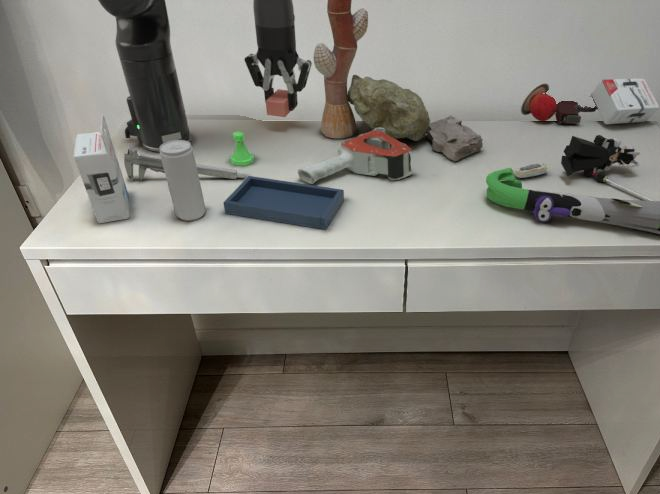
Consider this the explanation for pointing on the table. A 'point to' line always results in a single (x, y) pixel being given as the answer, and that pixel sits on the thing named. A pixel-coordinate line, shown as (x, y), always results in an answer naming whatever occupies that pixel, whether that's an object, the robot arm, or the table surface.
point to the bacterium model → (530, 170)
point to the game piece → (241, 151)
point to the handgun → (570, 112)
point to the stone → (453, 138)
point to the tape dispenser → (365, 158)
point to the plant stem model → (339, 66)
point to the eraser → (278, 104)
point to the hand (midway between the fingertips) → (281, 107)
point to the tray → (285, 202)
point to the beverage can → (182, 179)
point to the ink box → (624, 100)
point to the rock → (389, 107)
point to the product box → (102, 175)
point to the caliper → (156, 165)
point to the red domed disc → (539, 103)
